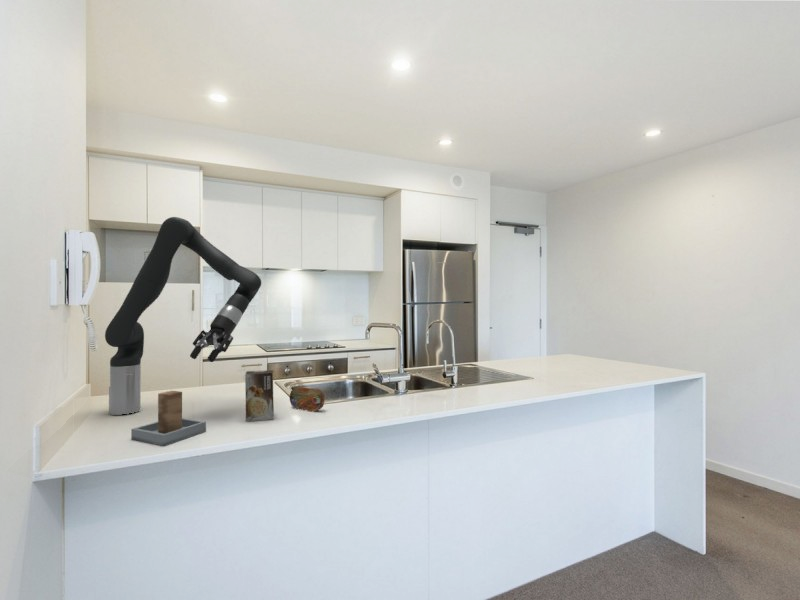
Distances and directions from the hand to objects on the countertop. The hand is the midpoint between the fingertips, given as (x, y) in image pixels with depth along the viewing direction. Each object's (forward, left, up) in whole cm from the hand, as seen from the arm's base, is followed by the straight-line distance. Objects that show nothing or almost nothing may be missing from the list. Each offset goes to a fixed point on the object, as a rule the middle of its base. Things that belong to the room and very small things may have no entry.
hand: (200, 359), depth 137 cm
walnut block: (+3, -14, -20) cm, 24 cm away
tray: (+3, -14, -21) cm, 25 cm away
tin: (+23, +27, -21) cm, 42 cm away
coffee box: (+15, +11, -21) cm, 28 cm away
